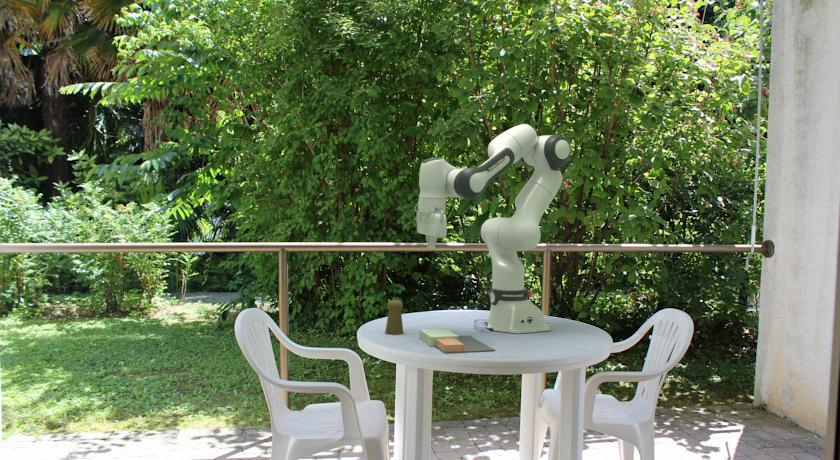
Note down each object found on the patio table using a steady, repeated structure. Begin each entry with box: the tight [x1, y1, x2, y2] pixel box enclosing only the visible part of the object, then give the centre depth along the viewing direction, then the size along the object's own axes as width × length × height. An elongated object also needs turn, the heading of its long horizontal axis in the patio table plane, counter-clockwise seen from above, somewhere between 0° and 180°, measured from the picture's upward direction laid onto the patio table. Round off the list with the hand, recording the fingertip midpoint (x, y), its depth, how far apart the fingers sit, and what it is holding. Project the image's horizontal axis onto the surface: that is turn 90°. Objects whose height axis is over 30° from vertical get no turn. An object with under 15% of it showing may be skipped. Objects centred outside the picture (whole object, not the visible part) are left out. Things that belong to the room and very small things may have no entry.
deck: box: [418, 327, 459, 348], centre depth 228 cm, size 9×12×3 cm
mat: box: [435, 335, 496, 355], centre depth 225 cm, size 16×21×1 cm
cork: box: [385, 299, 404, 336], centre depth 240 cm, size 6×6×11 cm
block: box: [435, 338, 464, 353], centre depth 218 cm, size 6×9×2 cm, turn 18°
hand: (431, 249), depth 235 cm, fingers closed
